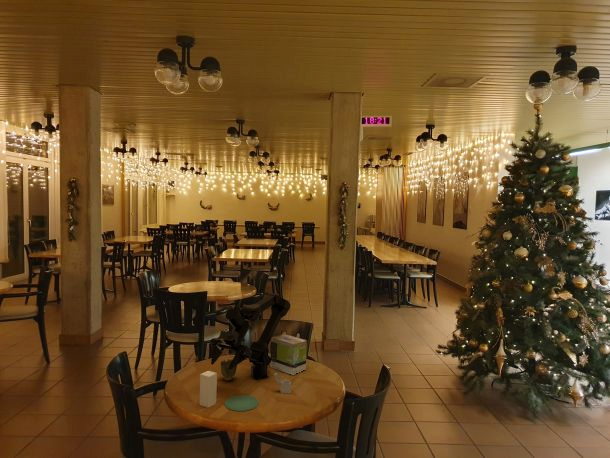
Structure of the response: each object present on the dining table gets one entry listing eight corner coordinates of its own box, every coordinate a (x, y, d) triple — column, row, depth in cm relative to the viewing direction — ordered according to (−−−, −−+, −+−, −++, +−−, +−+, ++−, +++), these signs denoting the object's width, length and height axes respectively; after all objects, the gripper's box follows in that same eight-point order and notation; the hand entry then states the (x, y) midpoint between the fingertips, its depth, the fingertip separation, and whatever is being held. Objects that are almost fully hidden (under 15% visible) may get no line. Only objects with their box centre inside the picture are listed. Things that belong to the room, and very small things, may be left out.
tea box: (306, 370, 205) (307, 339, 204) (292, 376, 197) (293, 344, 197) (283, 362, 215) (284, 332, 214) (269, 367, 207) (270, 337, 206)
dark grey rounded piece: (222, 384, 185) (223, 366, 185) (217, 378, 192) (218, 360, 192) (239, 381, 189) (239, 363, 188) (233, 375, 195) (234, 358, 195)
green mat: (250, 394, 177) (251, 393, 177) (263, 407, 166) (263, 406, 166) (220, 399, 170) (220, 398, 170) (231, 414, 159) (231, 413, 159)
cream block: (207, 400, 170) (208, 370, 169) (216, 403, 167) (216, 373, 167) (199, 404, 166) (200, 374, 165) (208, 407, 163) (208, 376, 163)
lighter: (290, 391, 181) (291, 372, 180) (290, 393, 179) (291, 374, 178) (273, 390, 181) (274, 371, 181) (273, 392, 179) (274, 373, 179)
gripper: (213, 318, 180) (193, 351, 171) (248, 326, 171) (229, 361, 162) (225, 333, 187) (206, 365, 178) (259, 341, 178) (242, 375, 169)
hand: (220, 366), depth 172 cm, fingers open, 9 cm apart
